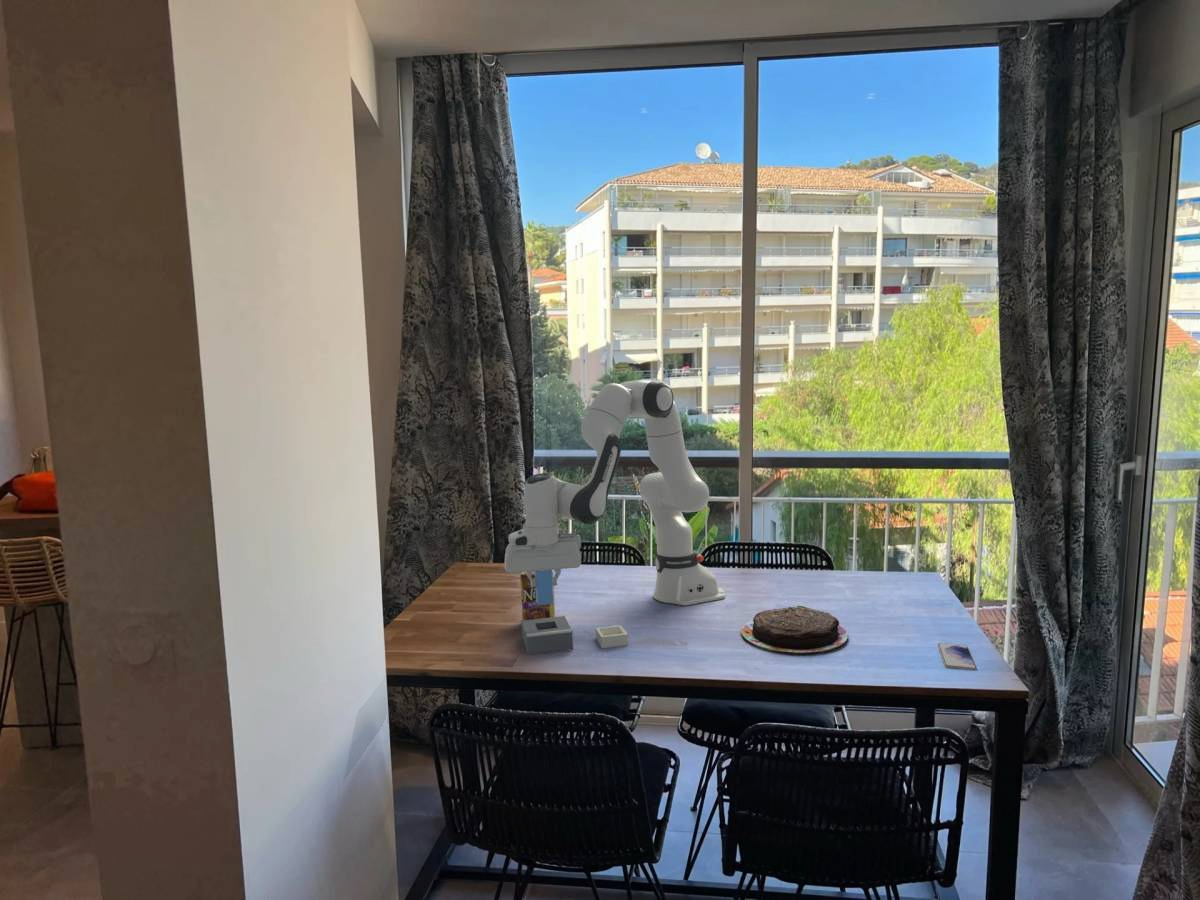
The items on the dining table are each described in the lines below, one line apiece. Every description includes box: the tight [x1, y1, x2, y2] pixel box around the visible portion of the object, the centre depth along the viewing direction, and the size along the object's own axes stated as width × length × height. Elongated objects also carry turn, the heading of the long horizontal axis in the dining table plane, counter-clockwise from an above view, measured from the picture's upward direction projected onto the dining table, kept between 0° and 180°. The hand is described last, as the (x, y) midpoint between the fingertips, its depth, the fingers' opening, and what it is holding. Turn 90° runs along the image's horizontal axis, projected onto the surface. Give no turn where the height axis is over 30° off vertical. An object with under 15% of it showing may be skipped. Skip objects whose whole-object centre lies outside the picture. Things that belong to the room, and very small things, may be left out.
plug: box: [535, 570, 553, 605], centre depth 207 cm, size 4×4×10 cm
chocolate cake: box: [740, 605, 849, 656], centre depth 209 cm, size 28×28×7 cm
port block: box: [521, 615, 574, 655], centre depth 209 cm, size 12×12×5 cm
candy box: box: [519, 571, 556, 621], centre depth 224 cm, size 9×4×15 cm, turn 72°
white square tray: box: [595, 624, 629, 649], centre depth 209 cm, size 7×7×3 cm
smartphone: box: [937, 642, 978, 671], centre depth 192 cm, size 7×1×15 cm
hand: (543, 586), depth 207 cm, fingers closed on plug, 4 cm apart
